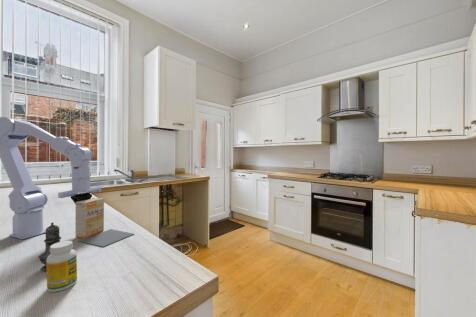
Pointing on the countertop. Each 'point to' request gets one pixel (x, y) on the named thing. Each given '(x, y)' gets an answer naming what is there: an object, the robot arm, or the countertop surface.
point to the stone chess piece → (49, 243)
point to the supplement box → (89, 217)
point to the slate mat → (106, 238)
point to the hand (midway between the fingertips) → (82, 213)
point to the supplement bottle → (61, 266)
